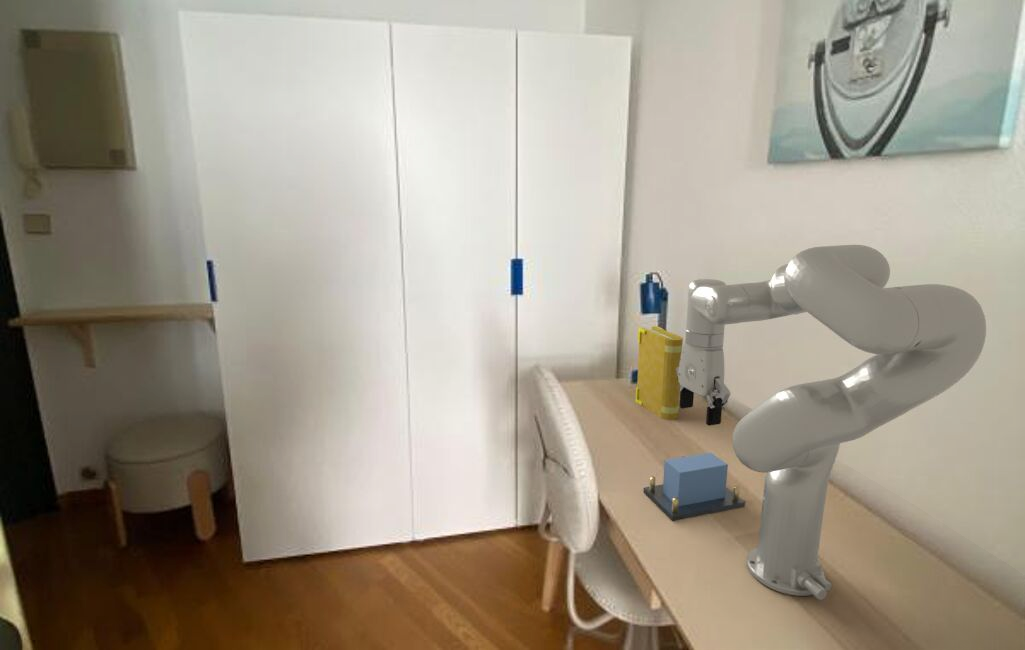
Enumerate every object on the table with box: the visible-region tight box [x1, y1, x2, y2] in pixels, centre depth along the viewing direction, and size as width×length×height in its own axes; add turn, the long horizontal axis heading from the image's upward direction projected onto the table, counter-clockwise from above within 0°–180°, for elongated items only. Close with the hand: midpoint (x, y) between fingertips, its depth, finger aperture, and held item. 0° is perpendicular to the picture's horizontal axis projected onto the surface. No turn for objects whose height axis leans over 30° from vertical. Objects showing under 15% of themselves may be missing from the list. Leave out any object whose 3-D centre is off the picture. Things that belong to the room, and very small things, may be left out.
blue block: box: [662, 452, 729, 506], centre depth 122 cm, size 12×6×8 cm, turn 106°
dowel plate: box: [643, 476, 746, 522], centre depth 123 cm, size 12×18×4 cm, turn 106°
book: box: [634, 326, 684, 421], centre depth 171 cm, size 17×7×25 cm, turn 17°
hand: (699, 415), depth 118 cm, fingers open, 9 cm apart
